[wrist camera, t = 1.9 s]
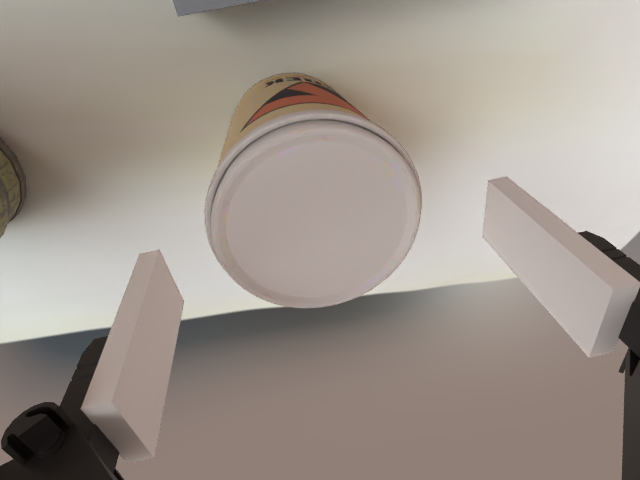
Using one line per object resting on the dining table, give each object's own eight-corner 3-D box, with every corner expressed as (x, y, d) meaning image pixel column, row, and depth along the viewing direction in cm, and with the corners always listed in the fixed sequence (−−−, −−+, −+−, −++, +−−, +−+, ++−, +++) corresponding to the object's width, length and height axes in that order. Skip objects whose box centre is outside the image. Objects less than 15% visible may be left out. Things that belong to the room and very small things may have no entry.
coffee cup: (382, 88, 26) (469, 161, 16) (329, 210, 30) (371, 326, 20) (238, 32, 23) (238, 80, 13) (203, 177, 27) (182, 295, 17)
